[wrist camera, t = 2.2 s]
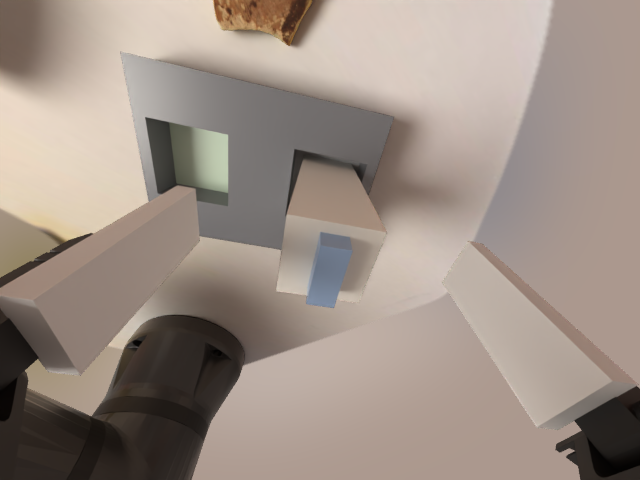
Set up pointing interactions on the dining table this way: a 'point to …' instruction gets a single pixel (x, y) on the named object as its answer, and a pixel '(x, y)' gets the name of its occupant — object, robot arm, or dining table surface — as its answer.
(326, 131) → the panel
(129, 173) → the dining table surface
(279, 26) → the shard
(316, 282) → the plug
